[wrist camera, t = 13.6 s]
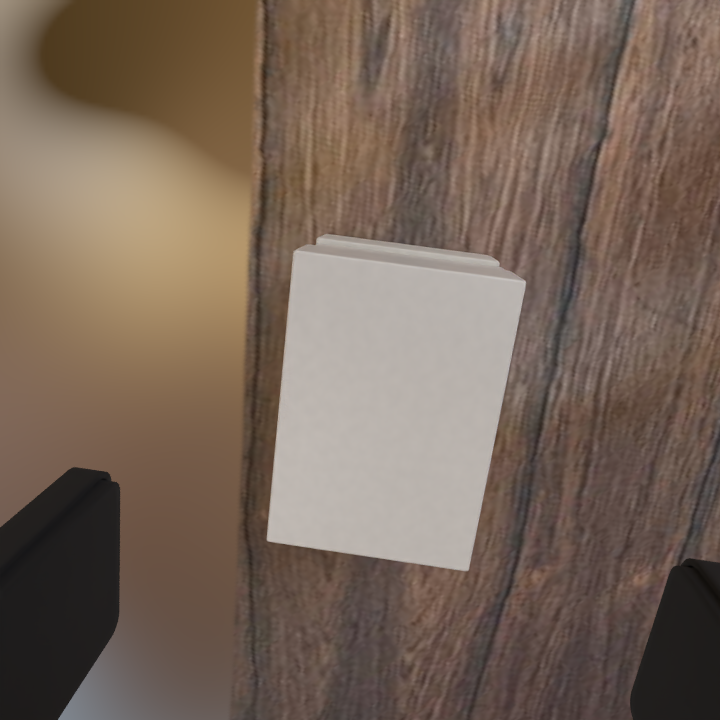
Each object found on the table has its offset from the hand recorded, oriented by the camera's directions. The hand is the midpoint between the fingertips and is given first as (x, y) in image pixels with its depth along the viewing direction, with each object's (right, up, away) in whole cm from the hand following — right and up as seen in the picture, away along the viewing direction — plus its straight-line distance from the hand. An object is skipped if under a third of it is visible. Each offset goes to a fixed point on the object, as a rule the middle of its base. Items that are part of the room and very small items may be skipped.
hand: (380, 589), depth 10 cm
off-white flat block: (+1, +3, +11) cm, 12 cm away
